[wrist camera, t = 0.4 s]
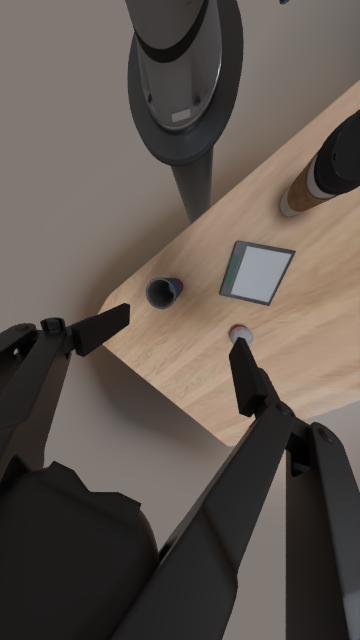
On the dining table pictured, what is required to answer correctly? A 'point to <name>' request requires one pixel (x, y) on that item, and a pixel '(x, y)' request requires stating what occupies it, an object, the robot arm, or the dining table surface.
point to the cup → (163, 292)
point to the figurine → (241, 334)
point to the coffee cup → (327, 170)
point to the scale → (255, 272)
